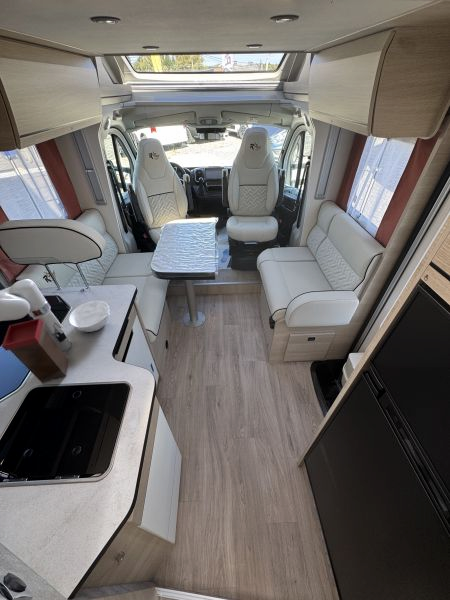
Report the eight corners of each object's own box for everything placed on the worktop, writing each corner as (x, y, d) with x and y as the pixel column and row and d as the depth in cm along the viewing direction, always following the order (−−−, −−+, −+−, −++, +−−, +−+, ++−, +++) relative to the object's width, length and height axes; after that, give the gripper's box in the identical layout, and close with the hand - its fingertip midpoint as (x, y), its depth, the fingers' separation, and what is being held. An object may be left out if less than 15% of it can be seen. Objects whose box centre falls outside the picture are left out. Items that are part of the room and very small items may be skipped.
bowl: (72, 319, 130) (66, 309, 125) (108, 306, 137) (104, 296, 132) (78, 343, 118) (72, 333, 113) (118, 327, 125) (113, 316, 120)
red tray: (6, 350, 87) (1, 346, 86) (13, 329, 94) (9, 325, 93) (38, 342, 90) (35, 337, 88) (43, 322, 97) (40, 318, 95)
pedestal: (42, 383, 103) (8, 349, 88) (45, 365, 110) (14, 330, 94) (66, 376, 105) (37, 341, 90) (68, 359, 112) (41, 324, 96)
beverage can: (74, 343, 118) (62, 326, 110) (67, 351, 115) (54, 334, 107) (65, 341, 119) (53, 324, 111) (58, 350, 116) (44, 332, 108)
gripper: (16, 307, 101) (40, 336, 113) (42, 321, 95) (64, 351, 107) (34, 296, 106) (55, 325, 118) (60, 309, 99) (79, 338, 112)
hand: (59, 337), depth 112 cm, fingers closed on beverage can, 4 cm apart
